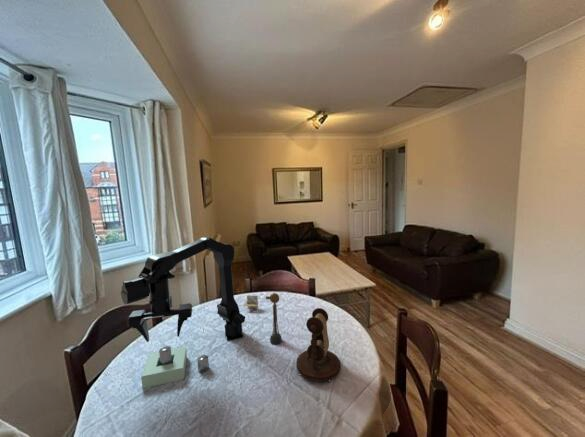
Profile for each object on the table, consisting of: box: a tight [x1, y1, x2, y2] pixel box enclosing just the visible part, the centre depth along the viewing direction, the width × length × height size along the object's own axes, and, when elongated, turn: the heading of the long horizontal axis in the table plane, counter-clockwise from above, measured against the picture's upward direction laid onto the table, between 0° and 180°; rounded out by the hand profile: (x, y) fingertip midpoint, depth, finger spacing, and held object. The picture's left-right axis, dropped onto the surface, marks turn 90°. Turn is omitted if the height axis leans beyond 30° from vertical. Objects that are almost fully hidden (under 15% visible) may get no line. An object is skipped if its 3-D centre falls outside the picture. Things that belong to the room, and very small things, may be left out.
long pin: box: [158, 345, 172, 366], centre depth 89 cm, size 4×4×8 cm
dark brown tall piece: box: [295, 307, 342, 382], centre depth 87 cm, size 15×15×20 cm
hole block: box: [141, 346, 188, 389], centre depth 89 cm, size 12×12×4 cm
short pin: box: [196, 354, 210, 374], centre depth 90 cm, size 4×4×4 cm
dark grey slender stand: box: [265, 292, 283, 346], centre depth 104 cm, size 6×5×20 cm
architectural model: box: [242, 295, 259, 311], centre depth 133 cm, size 3×7×7 cm, turn 83°
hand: (163, 338), depth 88 cm, fingers open, 9 cm apart
